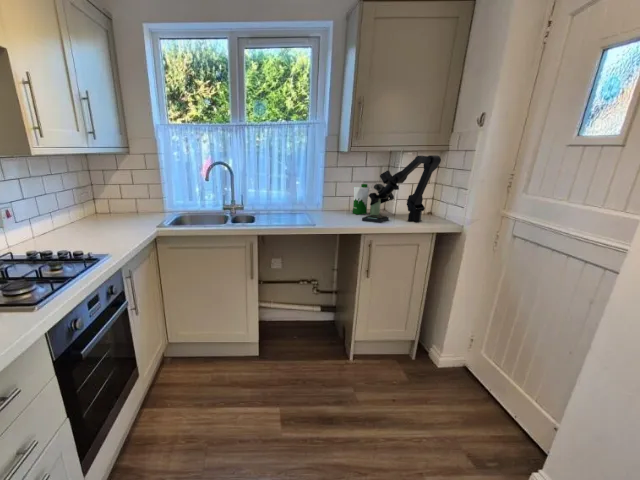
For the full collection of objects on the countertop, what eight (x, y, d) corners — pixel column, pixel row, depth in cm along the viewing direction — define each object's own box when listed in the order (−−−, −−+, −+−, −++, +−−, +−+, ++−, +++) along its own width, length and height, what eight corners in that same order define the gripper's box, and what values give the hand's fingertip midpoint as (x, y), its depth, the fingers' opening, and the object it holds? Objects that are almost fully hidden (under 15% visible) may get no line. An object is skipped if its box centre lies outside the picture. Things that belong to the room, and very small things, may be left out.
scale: (388, 220, 228) (388, 216, 227) (380, 222, 220) (380, 218, 219) (370, 218, 236) (371, 214, 235) (361, 220, 228) (362, 216, 227)
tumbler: (381, 214, 250) (383, 195, 246) (376, 215, 246) (378, 196, 241) (372, 213, 254) (374, 194, 250) (368, 214, 250) (369, 195, 246)
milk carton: (368, 214, 252) (371, 184, 245) (357, 215, 249) (359, 185, 242) (361, 212, 260) (363, 183, 253) (350, 213, 257) (352, 184, 250)
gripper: (392, 179, 243) (378, 194, 256) (372, 180, 235) (358, 196, 247) (400, 192, 239) (385, 207, 252) (380, 193, 231) (366, 209, 244)
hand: (374, 204), depth 249 cm, fingers closed on tumbler, 6 cm apart
